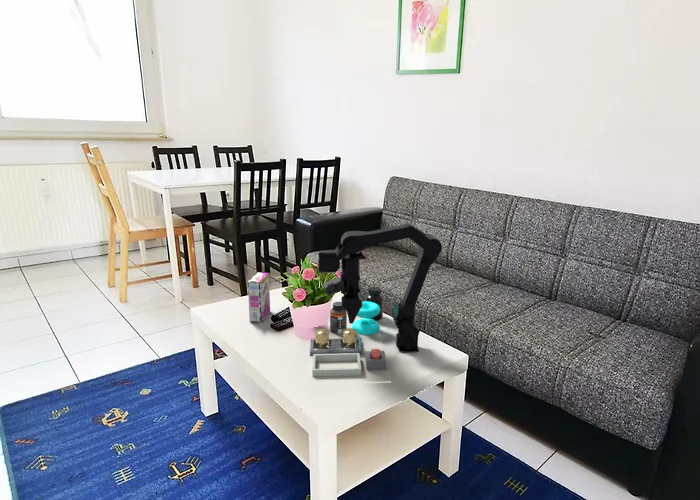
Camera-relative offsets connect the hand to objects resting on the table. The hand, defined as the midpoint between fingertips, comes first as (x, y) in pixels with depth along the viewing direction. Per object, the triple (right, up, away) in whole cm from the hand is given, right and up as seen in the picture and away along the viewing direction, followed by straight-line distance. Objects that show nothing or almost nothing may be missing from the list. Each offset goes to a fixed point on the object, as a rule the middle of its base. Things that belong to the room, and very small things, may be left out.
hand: (350, 317), depth 145 cm
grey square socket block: (+8, -14, -7) cm, 18 cm away
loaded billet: (-9, -11, +2) cm, 14 cm away
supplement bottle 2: (+9, -5, +28) cm, 29 cm away
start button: (+8, -12, -8) cm, 16 cm away
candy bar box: (-35, -4, +29) cm, 45 cm away
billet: (0, -10, +3) cm, 11 cm away
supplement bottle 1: (-4, -8, +16) cm, 18 cm away
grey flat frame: (-5, -12, +3) cm, 13 cm away
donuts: (+6, -8, +17) cm, 19 cm away
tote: (-4, -15, -9) cm, 18 cm away
